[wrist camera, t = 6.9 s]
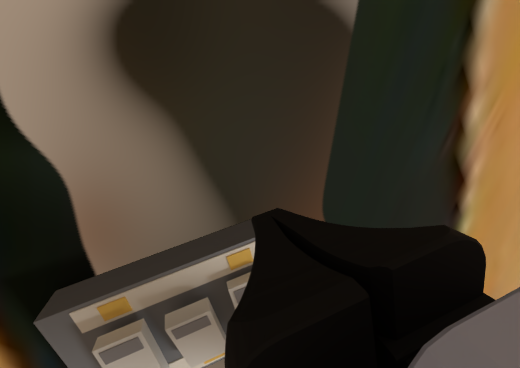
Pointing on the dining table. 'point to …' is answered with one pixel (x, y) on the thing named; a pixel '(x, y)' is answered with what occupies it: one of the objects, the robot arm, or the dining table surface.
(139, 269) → the switch unit
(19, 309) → the dining table surface
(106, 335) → the switch
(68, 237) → the dining table surface
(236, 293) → the switch
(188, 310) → the switch
